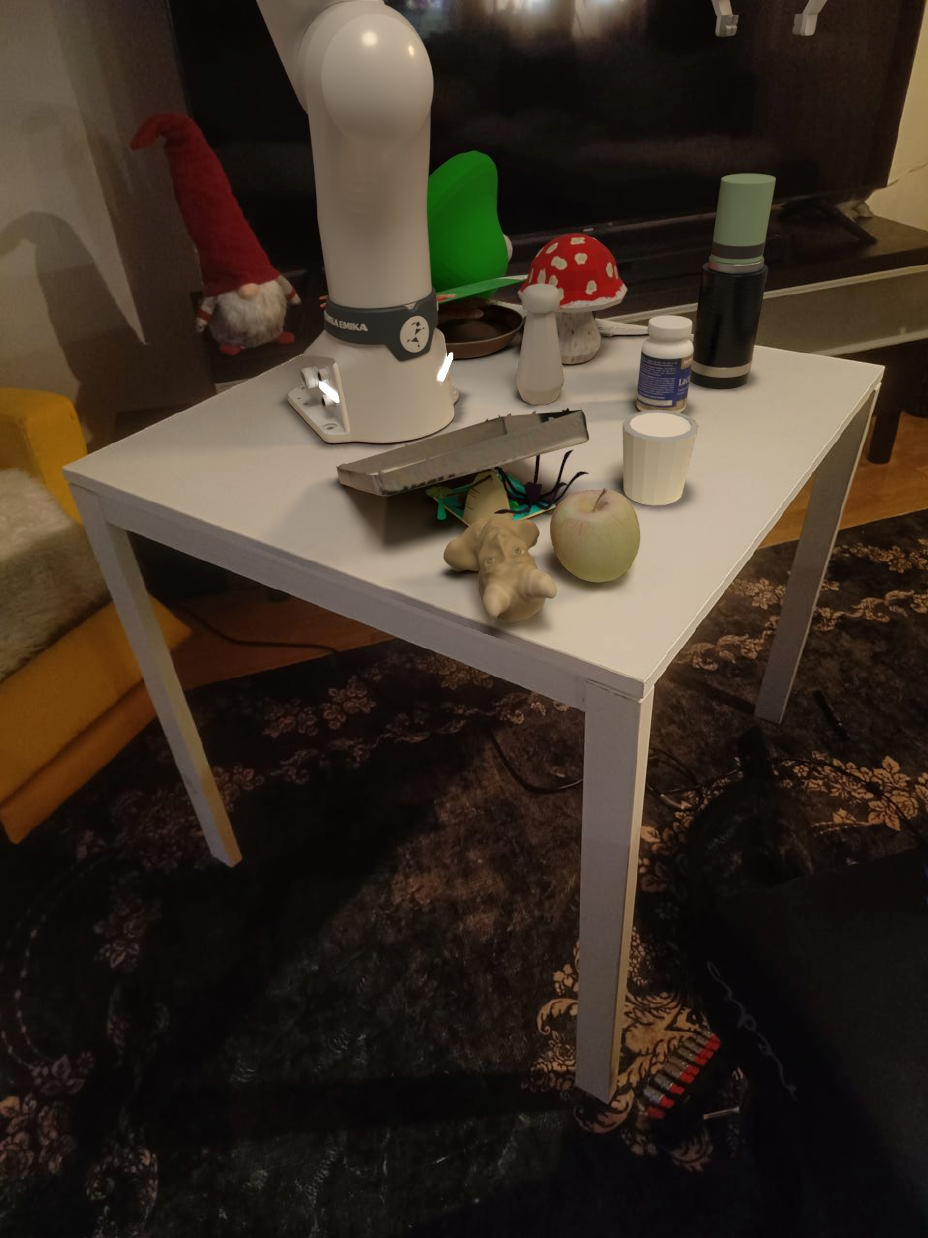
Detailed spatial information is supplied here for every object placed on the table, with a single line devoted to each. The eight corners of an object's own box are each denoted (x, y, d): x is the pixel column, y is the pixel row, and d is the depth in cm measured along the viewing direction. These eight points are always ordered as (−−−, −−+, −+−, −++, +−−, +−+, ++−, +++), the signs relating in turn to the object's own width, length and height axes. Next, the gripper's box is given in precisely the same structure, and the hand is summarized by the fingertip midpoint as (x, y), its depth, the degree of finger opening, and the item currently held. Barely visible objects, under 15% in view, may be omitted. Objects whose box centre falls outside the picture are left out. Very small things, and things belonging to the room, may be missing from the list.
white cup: (674, 515, 74) (683, 446, 70) (605, 498, 77) (610, 431, 73) (699, 483, 79) (709, 416, 74) (633, 468, 82) (639, 403, 77)
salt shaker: (573, 396, 97) (578, 284, 89) (543, 412, 94) (545, 297, 86) (535, 385, 100) (536, 276, 92) (506, 400, 97) (504, 288, 89)
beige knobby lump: (441, 569, 69) (471, 657, 59) (436, 497, 65) (469, 578, 55) (532, 556, 70) (576, 640, 61) (534, 484, 66) (582, 561, 56)
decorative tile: (379, 511, 64) (598, 441, 69) (367, 474, 63) (590, 405, 68) (341, 493, 83) (515, 439, 87) (332, 464, 82) (508, 410, 86)
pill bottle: (686, 419, 90) (697, 330, 84) (634, 417, 91) (642, 329, 85) (685, 398, 95) (696, 312, 88) (636, 397, 96) (644, 312, 90)
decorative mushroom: (498, 364, 106) (496, 242, 96) (549, 332, 115) (551, 217, 105) (593, 382, 99) (601, 253, 90) (639, 347, 108) (650, 226, 99)
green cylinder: (699, 258, 91) (709, 179, 86) (730, 248, 94) (742, 171, 89) (742, 267, 88) (754, 185, 83) (772, 256, 90) (787, 176, 85)
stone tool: (482, 304, 105) (372, 307, 107) (483, 328, 106) (374, 331, 109) (495, 289, 116) (395, 292, 119) (495, 311, 118) (397, 314, 120)
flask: (675, 377, 100) (690, 258, 91) (712, 362, 103) (729, 246, 95) (724, 393, 95) (744, 270, 87) (761, 377, 99) (783, 256, 90)
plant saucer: (492, 313, 123) (491, 293, 121) (545, 348, 110) (545, 326, 108) (383, 336, 118) (380, 315, 116) (426, 375, 105) (424, 352, 103)
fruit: (654, 563, 68) (664, 479, 63) (610, 606, 63) (618, 519, 58) (577, 536, 72) (581, 455, 67) (531, 575, 67) (531, 491, 62)
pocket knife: (559, 332, 112) (559, 325, 114) (559, 338, 113) (559, 331, 114) (658, 330, 111) (656, 324, 113) (657, 336, 112) (655, 329, 113)
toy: (408, 286, 138) (468, 348, 138) (332, 296, 118) (403, 369, 118) (502, 149, 123) (570, 220, 123) (434, 134, 103) (515, 218, 103)
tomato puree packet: (438, 307, 98) (560, 275, 107) (436, 298, 98) (559, 266, 106) (378, 312, 110) (492, 282, 119) (376, 303, 110) (491, 274, 118)
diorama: (409, 507, 77) (404, 455, 74) (534, 463, 83) (535, 413, 80) (473, 560, 70) (471, 504, 66) (606, 507, 76) (610, 453, 72)
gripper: (680, -131, 81) (665, 37, 89) (872, -164, 68) (833, 37, 76) (719, -130, 84) (701, 33, 92) (910, -161, 71) (869, 32, 79)
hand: (762, 35), depth 84 cm, fingers open, 8 cm apart
